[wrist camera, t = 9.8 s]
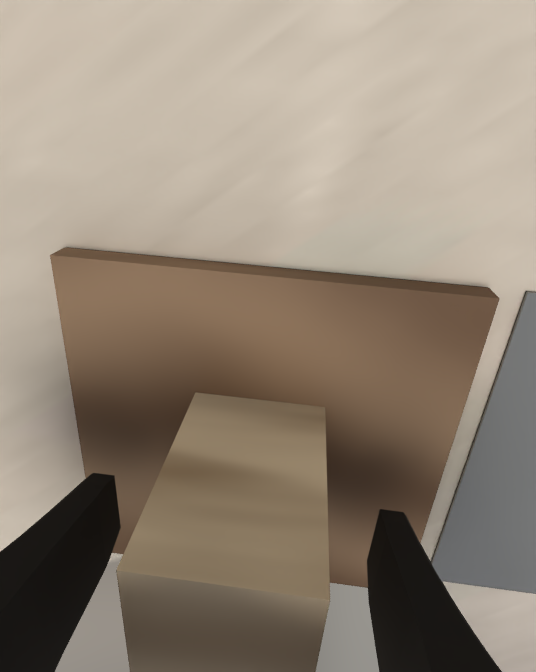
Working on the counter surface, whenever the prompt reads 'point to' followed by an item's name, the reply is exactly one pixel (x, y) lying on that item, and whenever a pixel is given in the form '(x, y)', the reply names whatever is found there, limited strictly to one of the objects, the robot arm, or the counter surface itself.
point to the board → (272, 373)
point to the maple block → (232, 544)
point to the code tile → (499, 479)
